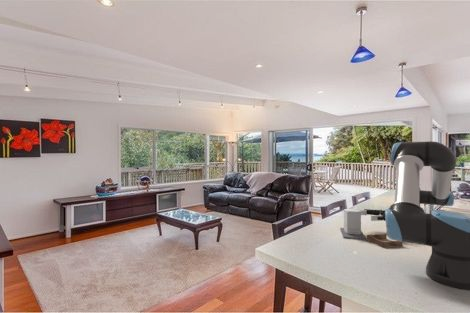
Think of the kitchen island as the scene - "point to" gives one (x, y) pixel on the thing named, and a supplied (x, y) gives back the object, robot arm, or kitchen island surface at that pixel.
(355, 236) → the rubber mat
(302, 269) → the kitchen island surface
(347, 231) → the supplement box
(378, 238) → the holder bracket
